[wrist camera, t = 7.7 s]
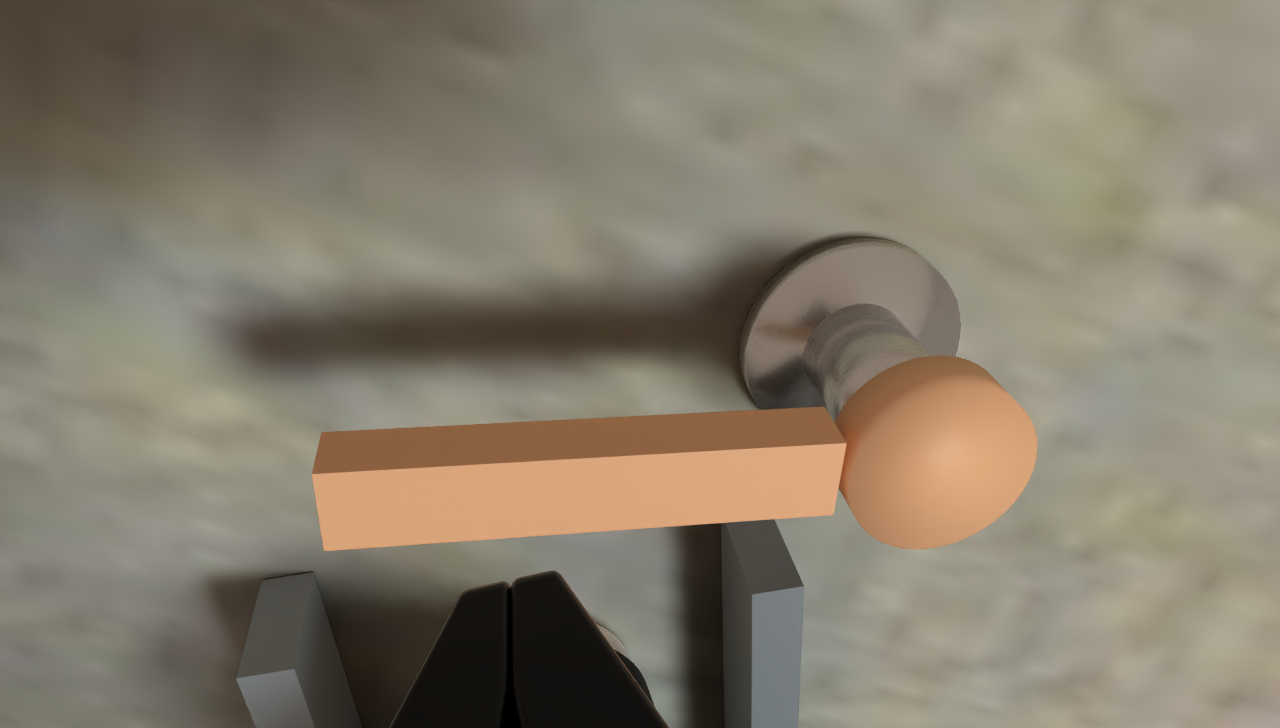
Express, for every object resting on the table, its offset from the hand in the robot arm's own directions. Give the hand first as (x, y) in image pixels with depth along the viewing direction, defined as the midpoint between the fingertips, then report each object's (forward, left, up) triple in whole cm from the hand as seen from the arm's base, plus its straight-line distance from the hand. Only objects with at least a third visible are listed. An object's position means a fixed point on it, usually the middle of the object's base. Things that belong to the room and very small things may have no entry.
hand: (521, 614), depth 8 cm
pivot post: (-5, -7, -12) cm, 15 cm away
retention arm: (-4, -3, -8) cm, 9 cm away
